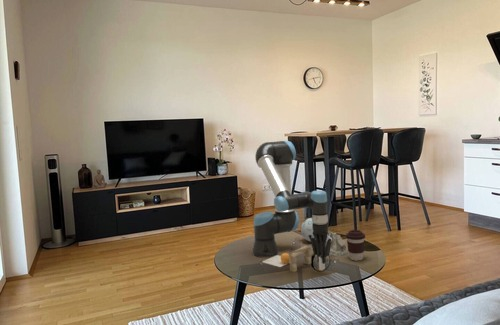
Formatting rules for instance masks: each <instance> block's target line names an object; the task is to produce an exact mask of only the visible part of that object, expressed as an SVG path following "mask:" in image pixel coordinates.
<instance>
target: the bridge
mask: <svg viewBox="0 0 500 325" xmlns="http://www.w3.org/2000/svg"><path fill="white" fill-rule="evenodd" d="M311 247H312V246H310V245H304V246H302V247H300V248H298V249H295V250H293V251H291V252H289V253H288V254H289V261H290V263H289V271H290V272H292V273H296V272H298V264H297V263H298V262H297V256H299V255H301V254H303V259H304V260H303V261H304V265H308V266H309V265H312V252H311V251H312V249H311Z"/></svg>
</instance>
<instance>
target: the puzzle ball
mask: <svg viewBox="0 0 500 325" xmlns="http://www.w3.org/2000/svg"><path fill="white" fill-rule="evenodd" d="M312 223H313V222H312V217H310V218H309V217H308V218H307V219H305V220H304V221H303V222H302V224H301V226H300V234H301V236H302V238H303V239H304V240H306V241H308V242H310V243H311V240H310V238H309V235H311V234H313V228H312ZM315 240H316V239H315Z"/></svg>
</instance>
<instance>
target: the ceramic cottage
mask: <svg viewBox="0 0 500 325" xmlns="http://www.w3.org/2000/svg"><path fill="white" fill-rule="evenodd" d="M328 234H329V237H330V238H333V241H332V242H331V248H330V253H329V256H331V257H337V258H342V257H346V256H347V255H348V250H346V247H347V244H346V243H347V242H345V241H344V239H343V238H342V237H341V235H340V234H337V232H332V231H329V230H328ZM326 244H327V239H326Z"/></svg>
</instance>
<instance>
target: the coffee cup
mask: <svg viewBox="0 0 500 325" xmlns="http://www.w3.org/2000/svg"><path fill="white" fill-rule="evenodd" d="M345 238H346V239H347V241H346V243H347V244H346V245H347V252H348V256H349V260H352V261H355V262H358V261H362V260H364V252H365V238H366V234H365V233H364V232H363V231H362V230H359V229H351V230H349V231H348V232H346V233H345Z"/></svg>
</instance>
